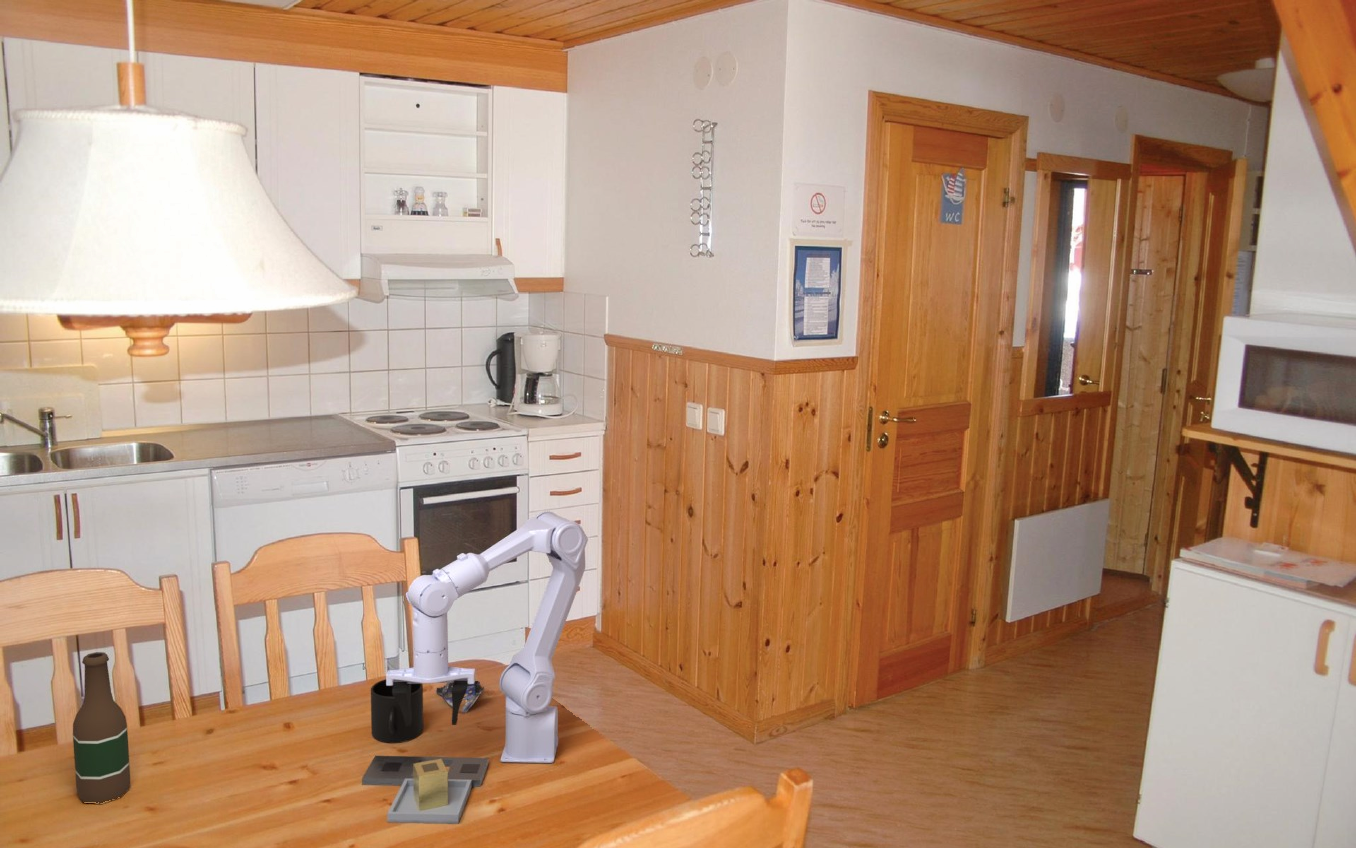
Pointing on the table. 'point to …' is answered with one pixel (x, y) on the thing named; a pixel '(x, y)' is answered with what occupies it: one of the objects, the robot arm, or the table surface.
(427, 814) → the parts tray
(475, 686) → the snack package
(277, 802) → the table surface
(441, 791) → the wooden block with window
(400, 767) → the metal plate with cutout
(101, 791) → the beer bottle
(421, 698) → the mug
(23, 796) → the table surface
